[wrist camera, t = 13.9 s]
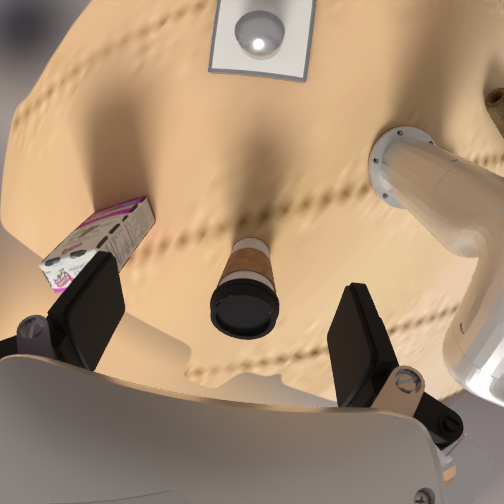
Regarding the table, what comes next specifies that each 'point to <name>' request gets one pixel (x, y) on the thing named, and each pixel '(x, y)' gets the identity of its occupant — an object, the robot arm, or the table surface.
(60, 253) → the candy bar box
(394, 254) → the table surface
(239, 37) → the cylinder
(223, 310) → the coffee cup
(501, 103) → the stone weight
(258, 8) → the scale
